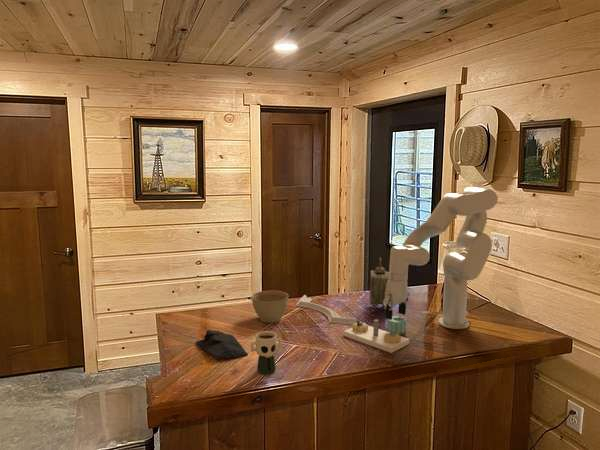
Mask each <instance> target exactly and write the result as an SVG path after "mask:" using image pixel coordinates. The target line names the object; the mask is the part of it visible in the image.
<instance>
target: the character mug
mask: <svg viewBox="0 0 600 450" xmlns="http://www.w3.org/2000/svg"><path fill="white" fill-rule="evenodd" d="M254 346H255V348H254ZM280 347H282V338H281V337H277V333H276V332H275V331H266V330H265V331H260V332H257V333H256V334H255V341H252V342H251V343H250V351H251V352H253V353H254V352H255V353H256V355H258V360H257V372H258V373H259V374H263V375H269V372H270V374H272V373H275V371H276V360H275V355H276V353H277V351H278V348H280Z"/></svg>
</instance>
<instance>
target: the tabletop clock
mask: <svg viewBox="0 0 600 450" xmlns="http://www.w3.org/2000/svg"><path fill="white" fill-rule="evenodd" d="M388 280H389V271H386V268H385V267H383V266H382V258H381V257H380V256H379V263H378V266H377V267H375V269H374V270H370V280H369V281H370V283H369V284H370V285H369V302H370V303H369V304H370V305H373V306H374V308H373V309H372V310H371V311H372V313H376V312H377V311H376V309H377V307H378V305H382V307H381V308H382V310H385V307H384V303H383V300H384V299H385V292H386V286H387V282H388Z"/></svg>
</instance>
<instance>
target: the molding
mask: <svg viewBox="0 0 600 450" xmlns="http://www.w3.org/2000/svg"><path fill="white" fill-rule="evenodd" d="M312 301H313V299H312V297H307V295H306V294H304V295H303V296H302V297H300V299H299V300H298V302H297V303H296V305H295V307H297V308H305V309H310V310H314V311H317V312H318V313H321V314H323V315H325V316H326V318H327V319H328V323H329V324H337V325H346V326H347V325H351V326H353V325H354V323H357V321H358V320H357V318H355V317H343V316H340V315H339V313H337V312H336V311H334V310H333V309H331V308H329V307H327V306H323V305H320V304H317V303H314V302H312Z"/></svg>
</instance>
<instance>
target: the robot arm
mask: <svg viewBox="0 0 600 450" xmlns="http://www.w3.org/2000/svg"><path fill="white" fill-rule="evenodd" d="M497 204H498V195H497V193H496V192H495V191H494V190H493V189H491V188H485V187H484V188H483V187H477V186H470V187H466V188H464V189H463V190H462V193H456V192H450V193H449V192H448V193H446V194H445V195H443V197H441V199H440V201H439V202H438V204H437V205H436V207H435V208H434V209H433V211H432V213H431V214H430V215H429V217H428V218H427V220H425V221H424V222H423V223H422V224H420V225H419V226H417V227H416V228H415V229H414V230H412V231H411V233H410V234H409V235H408V236H407V237H406V239H405V240H404V241H403V244H402V245H394V246H392V247H391V248H390V255H389V269H388V272H389V280H388V282H387V286H386V292H385V299H384V300H383V303H384V307H385V309H384V310H385V312H384V318H385V319H387V320H388V319H389V320H392V317H393V313H394V310H393V309H394V306H396V305H398V312H397V313H398V314H399V315H406V312H407V311H406V310H407V306H408V300H409V296H410V292H408V275H409V274H408V273H409V265H411V266H424V265H426V264H427V263H428V262H429V261H430V258H431V256H430V252H429V251H428V250H427V249H426V248H424V247H422V245H423V243H425V242H427V240H428V239H430V238H433V237H436V236H438V235H441V234H444V233H445V232H446V231H447V229H448V227H449V226H450V225H451V223H452V222H453V220H454V219H455V217H456V216H461V217H465V218H464V222H463V224H462V226H461V228H460V230H459V232H458V235H457V237H456V239H455V240H456V241H455V243H456V247H457V248H458V249H459V250H461V251H463V252H467V253H466V254H464V253H461V252H458V251H452V252H449V253H447V254H446V255H445V257H444V258H443V260H442V267H443V268H442V269H443V276H444V280H443V281H444V282H443V283H444V284H443V297H442V300H443V301H442V316H441V317H440V318H439V319H438V325H440V326H442V327H444V328H447V329H453V330H463V329H467V328H468V327H469V326H470V323H469V321H468V320H467V318H466V317H467V316H469V311H467V304H468V303H467V302H468V301H467V298H468V281H474V280H476V279H478V277H479V276H480V275H481V273H482V271H483V269H484V267H485V265H486V263H487V260H488V258H489V256H490V254H491V251H492V248H493V241H492V239H491V237H490V236H489V235H488V234H487V233H485V232H484V230H485V228H486V225H487V223H488V214H487V213H488V212H487V211H490V210H492V209H493V208H494V207H495V206H496V205H497Z"/></svg>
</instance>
